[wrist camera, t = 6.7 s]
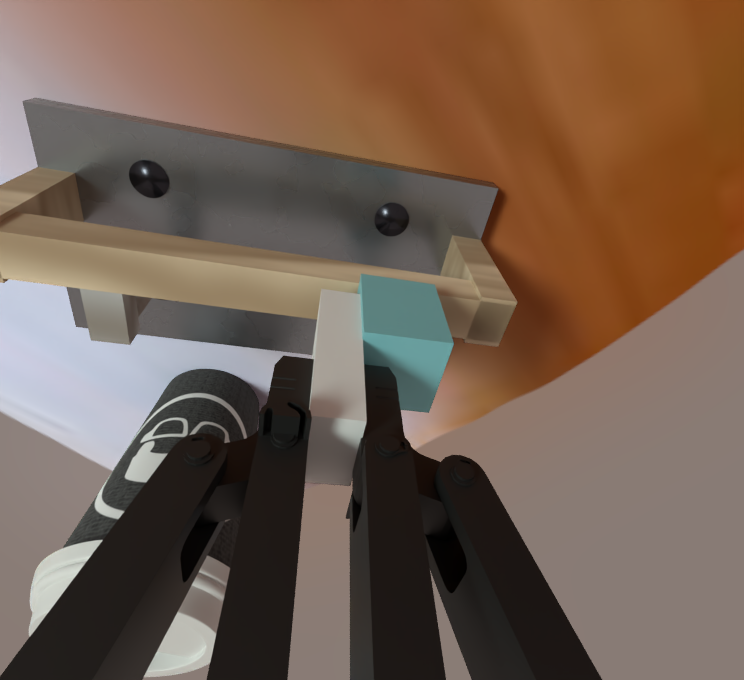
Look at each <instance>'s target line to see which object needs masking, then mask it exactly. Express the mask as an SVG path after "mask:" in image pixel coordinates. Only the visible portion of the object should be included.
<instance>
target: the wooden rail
mask: <svg viewBox="0 0 744 680" xmlns="http://www.w3.org/2000/svg"><path fill="white" fill-rule="evenodd" d="M83 221H84V218H83V213H82V208H81V203H80V198H79V192H78V187H77V182H76V177H75V173H72V172H66V171H60V170H54V169H48V168H41V167H37V168H35V169H33V170H31V171H29V172H27V173H25V174H23V175H21V176H18V177H16V178H14V179H12V180H10V181H8V182H6V183H4V184H2V185H0V282H1V283H5V282H6V281H7V280H8V279H11V280H19V281H26V282H34V283H42V284H49V285H57V286H65V287H72V288H80V292H81V297H82V301H83V306H84V311H85V315H86V320H87V324H88V329H89V333H90V338H91V340H93V341H102V342H111V343H119V344H128V345H130V344H131V342H132V341H133V339H134V338H135V336H136V335H137V333H138V332H139V330H140V325H139V316H140V315H141V313H142V312H143V310H144V309H145V307H146V306H147V305H148V303H149V302H150V300H151V299H152V298H156V299H164V300H172V301H179V302H187V303H195V304H202V305H210V306H217V307H225V308H233V309H240V310H248V311H256V312H263V313H271V314H279V315H286V316H294V317H302V318H309V319H317V317H318V310H319V303H320V296H321V289H327V290H334V291H341V292H348V293H355V294H357V292H358V287H359V281H360V276H361V274H367V275H374V276H381V277H387V278H394V279H401V280H408V281H415V282H421V283H428V284H435V287H436V290H437V293H438V296H439V299H440V302H441V305H442V308H443V311H444V314H445V318H446V321H447V324H448V327H449V330H450V333H451V336H452V337H454V338H462V339H463V340H464V343H472V344H479V345H487V346H495V347H498V346H499V343H500V341H501V339H502V336H503V334H504V332H505V330H506V327H507V325H508V323H509V320H510V318H511V316H512V314H513V311H514V309H515V307H516V304H517V300H516V299H515V297H514V295H513V294H512V292H511V290H510V289H509V287H508V285H507V284H506V282H505V280H504V279H503V277H502V275H501V273H500V272H499V270H498V268H497V267H496V265H495V263H494V262H493V260H492V258H491V257H490V255H489V253H488V252H487V250H486V248H485V247H484V245H483V243H482V242H481V240H478V239H472V238H465V237H459V236H453V235H452V238H451V241H450V244H449V248H448V251H447V254H446V258H445V261H444V264H443V267H442V271H441V274H440V276H438V275H431V274H425V273H418V272H411V271H405V270H398V269H391V268H385V267H378V266H371V265H365V264H358V263H352V262H345V261H338V260H332V259H325V258H318V257H312V256H305V255H299V254H292V253H285V252H279V251H272V250H265V249H259V248H252V247H246V246H239V245H232V244H226V243H219V242H212V241H206V240H199V239H193V238H186V237H179V236H173V235H166V234H159V233H153V232H146V231H139V230H133V229H126V228H120V227H113V226H106V225H100V224H93V223H86V222H83Z"/></svg>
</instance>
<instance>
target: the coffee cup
mask: <svg viewBox="0 0 744 680" xmlns="http://www.w3.org/2000/svg"><path fill="white" fill-rule="evenodd" d="M258 416H259V402H258V399H257V396H256V395H255V393H254V391H253V390H252V389H251V388H250V387H249V386H248V385H247V384H246V383H245V382H244V381H242V380H241V379H239V378H237V377H236V376H233V375H231V374H229V373H226V372H223V371H218V370H212V369H197V370H191V371H187V372H185V373H182V374H180V375H178V376H177V377H175V378H174V379H173V380H172V381H171V382H170V383H169V385H168V386H167V388H166V389H165V391H164V392H163V394H162V395H161V397H160V398H159V400H158V402H157V403H156V405H155V406H154V408H153V409H152V411H151V412H150V414H149V416H148V417H147V419H146V420H145V422H144V423H143V425H142V427H141V428H140V430H139V431H138V433H137V434H136V436H135V437H134V439H133V441H132V442H131V444H130V445H129V447H128V448H127V450H126V451H125V453H124V455H123V456H122V458H121V459H120V461H119V462H118V464H117V465H116V467H115V469H114V470H113V472H112V473H111V475H110V476H109V478H108V479H107V481H106V483H105V484H104V486H103V487H102V489H101V490H100V492H99V493H98V495H97V496H96V498H95V500H94V501H93V503H92V504H91V506H90V507H89V509H88V510H87V512H86V513H85V515H84V516H83V518H82V519H81V521H80V523H79V524H78V526H77V527H76V529H75V530H74V532H73V533H72V535H71V536H70V538H69V539H68V541H67V542H66V544H65V545H64V547H63V548H62V549H60V550H58V551H56V552H54V553H53V554H51V555H49V556H48V557H47V558H45V559H44V560H43V561H42V562H41V563H40V564H39V566H38V567H37V569H36V571H35V575H34V578H33V582H32V586H31V595H30V607H31V610H32V613H33V615H32V619H31V623H30V627H29V637H30V636H31V635H32V633H33V632H34V631H35V629H36V628H37V627H38V625H39V624H40V623H41V621H42V620H43V619H44V617H45V616H46V615H47V614H48V612H49V611H50V610H51V608H52V607H53V606H54V604H55V603H56V602H57V600H58V599H59V598H60V596H61V595H62V594H63V592H64V591H65V590H66V588H67V587H68V586H69V584H70V583H71V582H72V580H73V579H74V578H75V576H76V575H77V574H78V572H79V571H80V570H81V568H82V567H83V566H84V564H85V563H86V562H87V560H88V559H89V558H90V556H91V555H92V554H93V552H94V551H95V550H96V548H97V547H98V546H99V544H100V543H101V542H102V540H103V539H104V538H105V536H106V535H107V534H108V532H109V531H110V530H111V528H112V527H113V526H114V524H115V523H116V522H117V520H118V519H119V518H120V517H121V515H122V514H123V513H124V511H125V510H126V509H127V507H128V506H129V505H130V503H131V502H132V501H133V499H134V498H135V497H136V495H137V494H138V493H139V491H140V490H141V489H142V487H143V486H144V485H145V483H146V482H147V481H148V479H149V478H150V477H151V475H152V474H153V473H154V471H155V470H156V469H157V467H158V466H159V465H160V463H161V462H162V461H163V459H164V458H165V457H166V455H167V454H168V453H169V451H170V450H171V449H172V447H173V446H174V445H175V444H176V443H177V442H178V441H180V440H181V439H183V438H185V437H187V436H189V435H192V434H198V433H206V434H213V435H215V436H217V437H219V438H221V440H222V441H223V442H224V443H227V442H233V441H238V440H242V439H245V438H248V437H250V436H252V435H253V434H254V433H256V432H257V425H258ZM240 519H241V517H237V518H233V519H229V520H225V523H224V525H223V526H222V528H221V530H220V532H219V534H218V536H217V538H216V540H215V542H214V544H213V546H212V547H211V549H210V551H209V553H208V555H207V557H206V559H205V561H204V563H203V565H202V567H201V568H200V570H199V572H198V574H197V576H196V578H195V580H194V582H193V584H192V586H191V587H190V589H189V591H188V593H187V595H186V597H185V599H184V601H183V603H182V605H181V607H180V608H179V610H178V612H177V614H176V616H175V618H174V620H173V622H172V624H171V626H170V628H169V629H168V631H167V633H166V635H165V637H164V639H163V641H162V643H161V645H160V647H159V649H158V650H157V652H156V654H155V656H154V658H153V660H152V662H151V664H150V666H149V668H148V669H147V671H146V673H145V675H144V677H157V676H168V675H175V674H181V673H185V672H189V671H193V670H196V669H198V668H201V667H203V666H205V665H207V664H209V663H210V662H211V657H212V652H213V647H214V643H215V638H216V633H217V628H218V624H219V619H220V614H221V609H222V605H223V600H224V595H225V590H226V586H227V581H228V576H229V571H230V567H231V562H232V557H233V552H234V548H235V543H236V538H237V533H238V529H239V524H240Z"/></svg>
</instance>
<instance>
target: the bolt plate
mask: <svg viewBox="0 0 744 680" xmlns="http://www.w3.org/2000/svg"><path fill="white" fill-rule="evenodd" d="M23 105H24V109H25V114H26V118H27V122H28V126H29V130H30V135H31V139H32V143H33V147H34V152H35V156H36V160H37V164H38V167H41V168H48V169H54V170H60V171H66V172H72V173H75V177H76V182H77V187H78V192H79V198H80V203H81V208H82V213H83V218H84V221H83V222H86V223H93V224H100V225H106V226H113V227H120V228H126V229H133V230H139V231H146V232H153V233H159V234H166V235H173V236H179V237H186V238H193V239H199V240H206V241H212V242H219V243H226V244H232V245H239V246H246V247H252V248H259V249H265V250H272V251H279V252H285V253H292V254H299V255H305V256H312V257H318V258H325V259H332V260H338V261H345V262H352V263H358V264H365V265H371V266H378V267H385V268H391V269H398V270H405V271H411V272H418V273H425V274H431V275H438V276H440V274H441V271H442V267H443V264H444V261H445V258H446V254H447V251H448V248H449V244H450V241H451V238H452V235H453V236H459V237H465V238H472V239H478V240H481V237H482V234H483V232H484V229H485V226H486V223H487V220H488V217H489V214H490V211H491V209H492V206H493V203H494V200H495V197H496V194H497V191H498V188H497V186H496V185H495V184H494V183H492V182H487V181H482V180H476V179H471V178H465V177H460V176H455V175H449V174H444V173H438V172H433V171H428V170H422V169H417V168H411V167H406V166H401V165H395V164H390V163H385V162H379V161H374V160H368V159H363V158H358V157H352V156H347V155H341V154H336V153H331V152H325V151H320V150H314V149H309V148H304V147H298V146H293V145H287V144H282V143H277V142H271V141H266V140H260V139H255V138H250V137H244V136H239V135H233V134H228V133H223V132H217V131H212V130H206V129H201V128H196V127H190V126H185V125H179V124H174V123H169V122H163V121H158V120H152V119H147V118H142V117H136V116H131V115H126V114H120V113H115V112H109V111H104V110H99V109H93V108H88V107H82V106H77V105H72V104H66V103H61V102H55V101H50V100H45V99H39V98H33V99H29V100H25V101H23ZM67 291H68V295H69V299H70V304H71V308H72V312H73V316H74V320H75V325H76V327H83V328H88V324H87V320H86V315H85V311H84V306H83V301H82V297H81V292H80V288H72V287H67ZM139 325H140V330H139V332H138V333H137V334H141V335H150V336H158V337H166V338H175V339H183V340H192V341H200V342H208V343H217V344H225V345H233V346H242V347H250V348H259V349H267V350H275V351H284V352H292V353H301V354H309V355H313V346H314V339H315V332H316V325H317V319H309V318H302V317H294V316H286V315H279V314H271V313H263V312H256V311H248V310H240V309H233V308H225V307H217V306H210V305H202V304H195V303H187V302H179V301H172V300H164V299H156V298H152V299H151V300H150V302H149V303H148V305H147V306H146V307H145V309H144V310H143V312H142V313H141V315H140V316H139Z"/></svg>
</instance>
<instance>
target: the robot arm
mask: <svg viewBox="0 0 744 680" xmlns="http://www.w3.org/2000/svg"><path fill="white" fill-rule="evenodd" d="M352 477H353V491H352V495H351V499H350V503H349V507H348V511H347V515H346V518H347V519H350V680H446V677H445V670H444V663H443V656H442V650H441V642H440V636H439V629H438V622H437V615H436V609H435V602H434V595H433V588H432V581H431V574H430V571H431V573H432V576H433V578H434V581H435V584H436V586H437V589H438V592H439V594H440V597H441V599H442V602H443V605H444V607H445V610H446V613H447V615H448V618H449V621H450V623H451V626H452V629H453V631H454V634H455V637H456V639H457V642H458V645H459V647H460V650H461V652H462V655H463V657H464V660H465V663H466V666H467V668H468V671H469V674H470V676H471V679H472V680H602V679H601V677H600V675H599V674H598V672H597V670H596V668H595V666H594V665H593V663H592V661H591V660H590V658H589V656H588V654H587V652H586V651H585V649H584V647H583V645H582V643H581V642H580V640H579V638H578V636H577V635H576V633H575V631H574V629H573V628H572V626H571V624H570V622H569V620H568V619H567V617H566V615H565V613H564V612H563V610H562V608H561V606H560V605H559V603H558V601H557V599H556V598H555V596H554V594H553V592H552V590H551V589H550V587H549V585H548V583H547V582H546V580H545V578H544V576H543V575H542V573H541V571H540V569H539V568H538V566H537V564H536V562H535V561H534V559H533V557H532V555H531V553H530V552H529V550H528V548H527V546H526V545H525V543H524V541H523V539H522V537H521V536H520V534H519V532H518V531H517V529H516V527H515V525H514V523H513V522H512V520H511V518H510V516H509V514H508V513H507V511H506V509H505V508H504V506H503V504H502V502H501V501H500V499H499V497H498V495H497V494H496V492H495V490H494V488H493V486H492V484H491V483H490V481H489V479H488V477H487V476H486V474H485V472H484V471H483V469H482V468H481V467H480V466H479V465H478V464H477V463H476V462H474V461H473V460H472V459H470V458H467V457H464V456H461V455H451V456H448V457H445V459H443V460H442V461H441V462H439V461H436V460H434V459H431V458H428V457H426V456H424V455H421V454H419V453H418V452H417V451H415V450H414V449H413V448H412V447H411V445H410V443H409V441H408V440H407V439H406V438H405V436H404V432H403V424H402V417H401V410H400V402H399V395H398V387H397V380H396V377H395V375H394V374H393V373H392V371H391V370H390V368H389V367H383V366H375V365H366V364H364V354H363V339H362V319H361V297H360V294H355V293H348V292H341V291H334V290H327V289H321V296H320V303H319V310H318V317H317V325H316V332H315V339H314V346H313V356H312V359H307V358H299V357H290V356H283V357H282V358H281V359H280V360H279V361H278V362H277V363H276V364H275V367H274V372H273V377H272V382H271V387H270V391H269V396H268V401H267V404H266V405H264V406H263V407H262V409H261V411H260V413H259V428H258V431H257V432H256V433H254V434H253V435H252V436H250V437H248V438H245V439H242V440H238V441H233V442H227V443H224V442H223V441H222V440H221V438H219V437H217V436H215V435H213V434H206V433H198V434H192V435H189V436H187V437H185V438H183V439H181V440H180V441H178V442H177V443H176V444H175V445H174V446H173V447H172V449H171V450H170V451H169V453H168V454H167V455H166V457H165V458H164V459H163V461H162V462H161V463H160V465H159V466H158V467H157V469H156V470H155V471H154V473H153V474H152V475H151V477H150V478H149V479H148V481H147V482H146V483H145V485H144V486H143V487H142V489H141V490H140V491H139V493H138V494H137V495H136V497H135V498H134V499H133V501H132V502H131V503H130V505H129V506H128V507H127V509H126V510H125V511H124V513H123V514H122V515H121V517H120V518H119V519H118V520H117V522H116V523H115V524H114V526H113V527H112V528H111V530H110V531H109V532H108V534H107V535H106V536H105V538H104V539H103V540H102V542H101V543H100V544H99V546H98V547H97V548H96V550H95V551H94V552H93V554H92V555H91V556H90V558H89V559H88V560H87V562H86V563H85V564H84V566H83V567H82V568H81V570H80V571H79V572H78V574H77V575H76V576H75V578H74V579H73V580H72V582H71V583H70V584H69V586H68V587H67V588H66V590H65V591H64V592H63V594H62V595H61V596H60V598H59V599H58V600H57V602H56V603H55V604H54V606H53V607H52V608H51V610H50V611H49V612H48V614H47V615H46V616H45V617H44V619H43V620H42V621H41V623H40V624H39V625H38V627H37V628H36V629H35V631H34V632H33V633H32V635H31V636H30V637H29V639H28V640H27V641H26V643H25V644H24V645H23V647H22V648H21V650H20V651H19V652H18V654H17V655H16V656H15V657H14V659H13V660H12V662H11V663H10V664H9V665H8V667H7V668H6V669H5V671H4V672H3V673H2V675H1V676H0V680H142V679H143V677H144V675H145V673H146V671H147V669H148V668H149V666H150V664H151V662H152V660H153V658H154V656H155V654H156V652H157V650H158V649H159V647H160V645H161V643H162V641H163V639H164V637H165V635H166V633H167V631H168V629H169V628H170V626H171V624H172V622H173V620H174V618H175V616H176V614H177V612H178V610H179V608H180V607H181V605H182V603H183V601H184V599H185V597H186V595H187V593H188V591H189V589H190V587H191V586H192V584H193V582H194V580H195V578H196V576H197V574H198V572H199V570H200V568H201V567H202V565H203V563H204V561H205V559H206V557H207V555H208V553H209V551H210V549H211V547H212V546H213V544H214V542H215V540H216V538H217V536H218V534H219V532H220V530H221V528H222V526H223V525H224V523H225V520H229V519H233V518H237V517H241V519H240V524H239V529H238V533H237V538H236V543H235V548H234V552H233V557H232V562H231V567H230V571H229V576H228V581H227V586H226V590H225V595H224V600H223V605H222V609H221V614H220V619H219V624H218V628H217V633H216V638H215V643H214V647H213V652H212V657H211V662H210V666H209V671H208V676H207V680H287V677H288V665H289V653H290V642H291V632H292V621H293V609H294V597H295V587H296V576H297V563H298V553H299V541H300V531H301V519H302V508H303V497H304V486H305V482H307V483H320V484H333V485H345V486H350V485H351V481H352Z"/></svg>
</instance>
